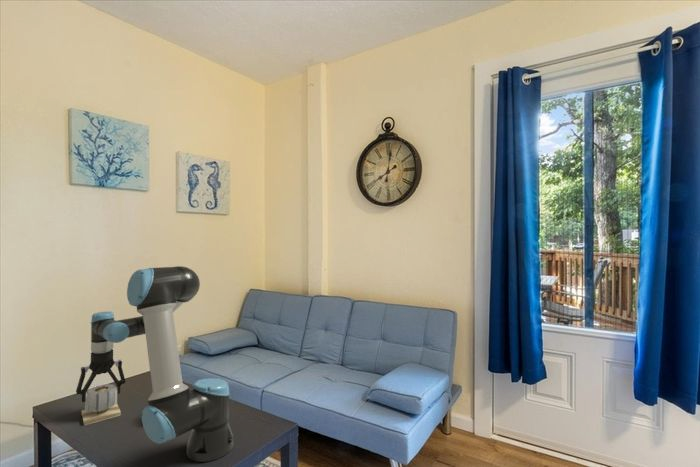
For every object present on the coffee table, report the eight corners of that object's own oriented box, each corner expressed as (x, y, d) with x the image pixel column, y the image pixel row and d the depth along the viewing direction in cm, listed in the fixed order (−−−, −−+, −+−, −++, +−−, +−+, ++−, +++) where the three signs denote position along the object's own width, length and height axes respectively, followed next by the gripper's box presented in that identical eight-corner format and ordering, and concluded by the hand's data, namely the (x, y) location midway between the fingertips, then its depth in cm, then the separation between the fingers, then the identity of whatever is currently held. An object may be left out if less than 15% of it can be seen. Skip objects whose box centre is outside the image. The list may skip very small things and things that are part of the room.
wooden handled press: (120, 415, 142) (121, 390, 142) (84, 425, 134) (84, 399, 134) (116, 404, 151) (116, 380, 151) (81, 413, 143) (81, 388, 143)
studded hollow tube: (116, 406, 142) (116, 389, 142) (88, 414, 136) (88, 396, 136) (112, 398, 149) (113, 382, 149) (86, 405, 143) (86, 388, 143)
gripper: (131, 343, 153) (130, 394, 153) (67, 353, 138) (66, 410, 138) (134, 347, 147) (133, 400, 147) (68, 358, 133) (67, 418, 133)
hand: (101, 405), depth 143 cm, fingers closed on studded hollow tube, 9 cm apart
